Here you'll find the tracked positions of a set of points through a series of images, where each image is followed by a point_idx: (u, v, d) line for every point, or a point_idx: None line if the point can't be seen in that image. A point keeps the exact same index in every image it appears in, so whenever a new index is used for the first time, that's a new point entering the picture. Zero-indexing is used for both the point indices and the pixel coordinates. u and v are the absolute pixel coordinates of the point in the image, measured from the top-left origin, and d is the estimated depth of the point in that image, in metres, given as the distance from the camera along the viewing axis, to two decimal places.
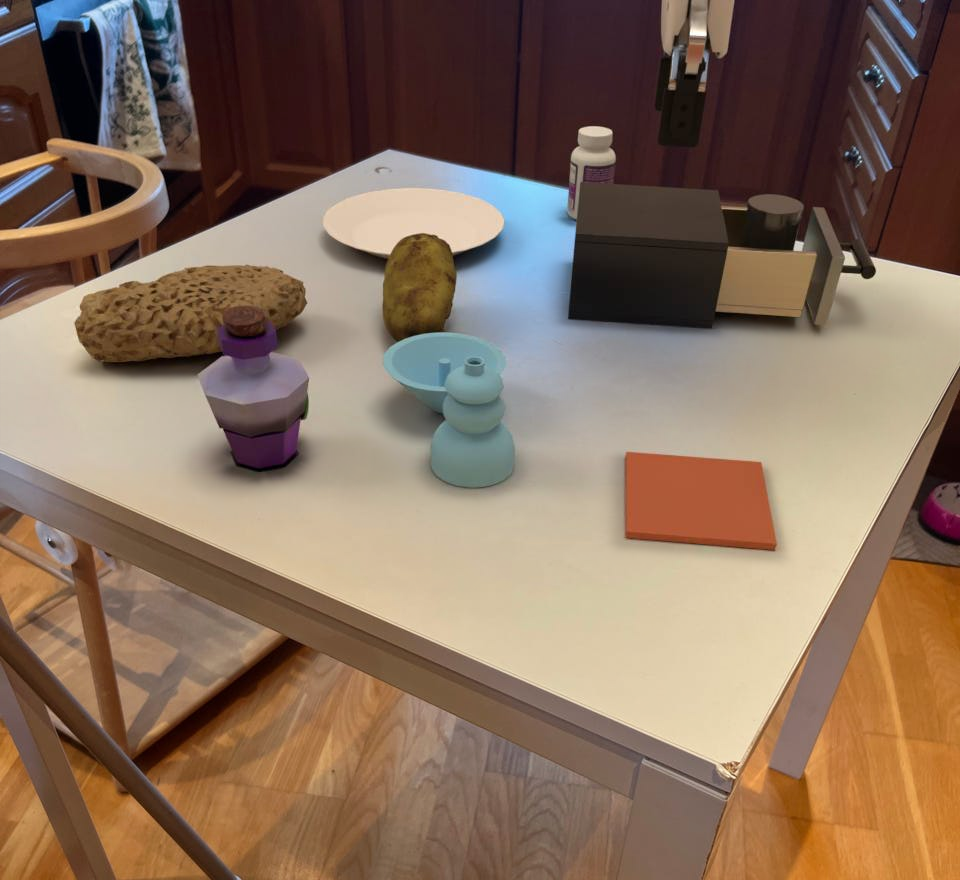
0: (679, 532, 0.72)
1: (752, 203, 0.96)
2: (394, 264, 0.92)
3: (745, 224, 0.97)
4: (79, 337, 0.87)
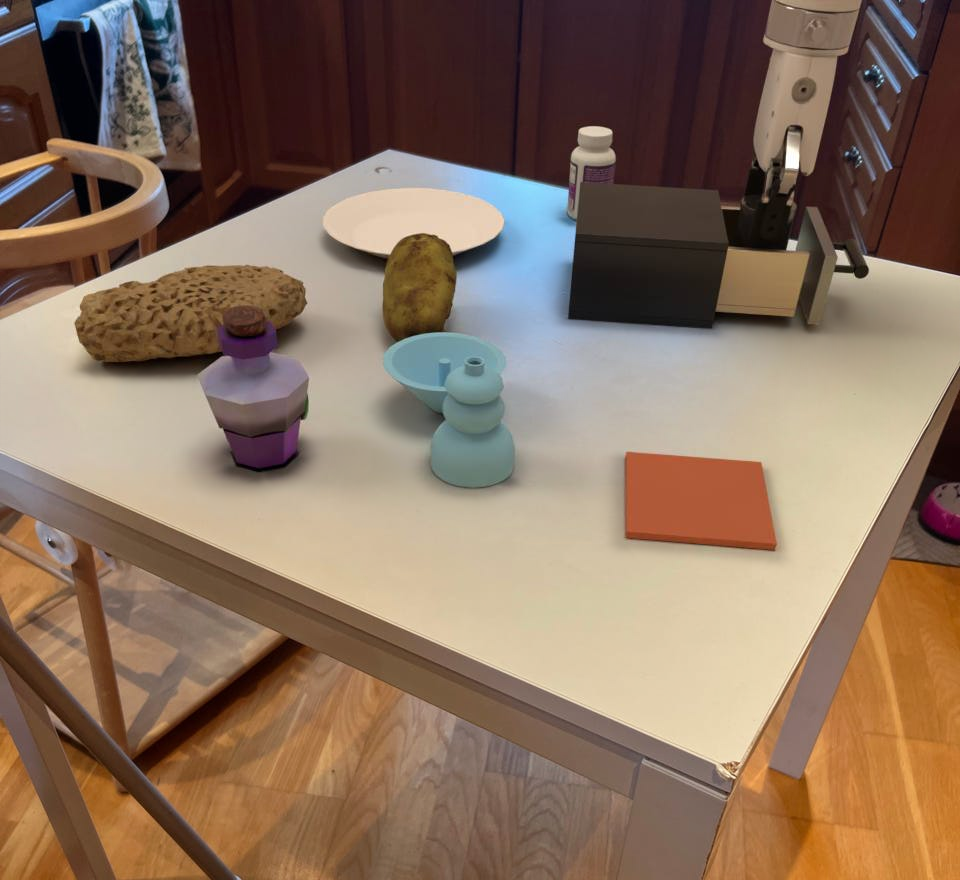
0: (679, 532, 0.72)
1: (745, 203, 0.96)
2: (394, 264, 0.92)
3: (738, 224, 0.97)
4: (79, 337, 0.87)
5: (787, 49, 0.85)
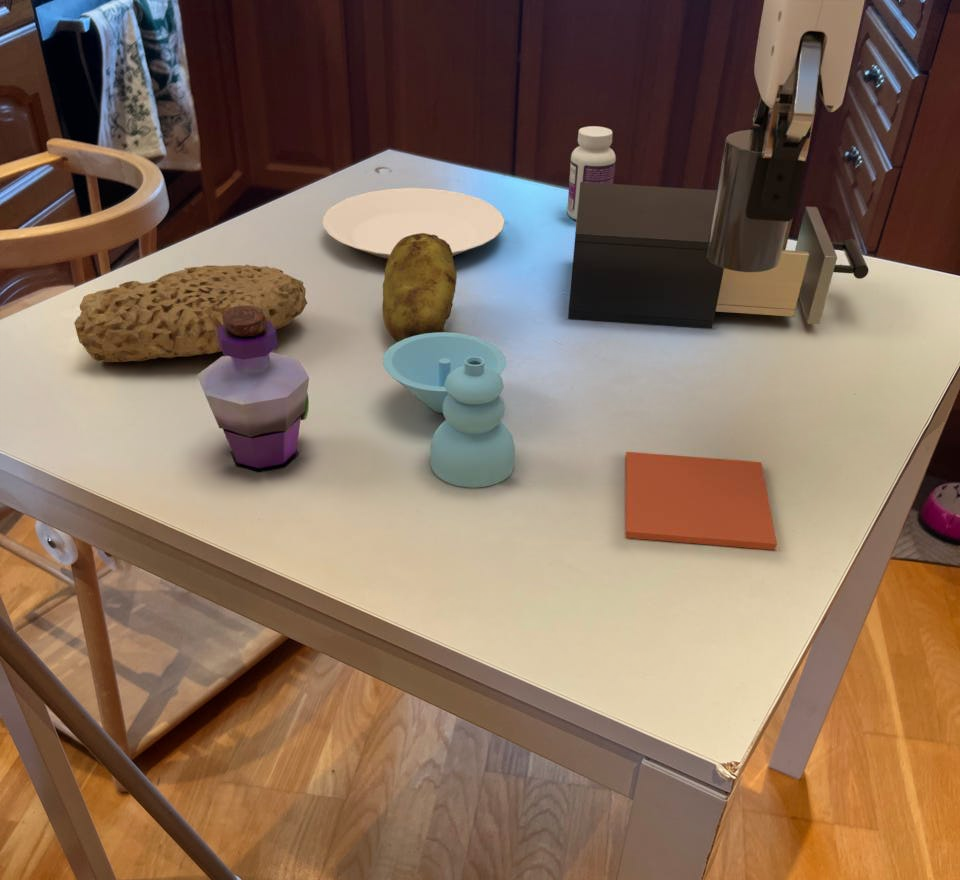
0: (679, 532, 0.72)
1: (731, 140, 0.66)
2: (394, 264, 0.92)
3: (722, 172, 0.67)
4: (79, 337, 0.87)
5: None
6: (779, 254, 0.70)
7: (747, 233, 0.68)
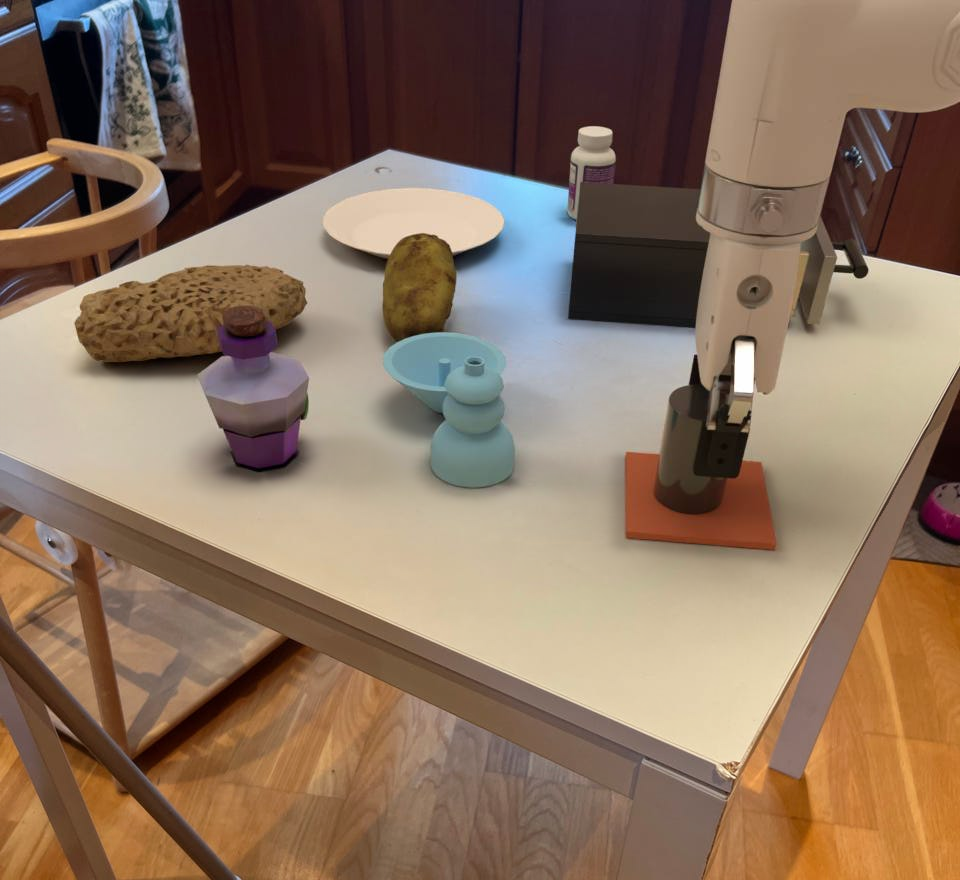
0: (679, 532, 0.72)
1: (674, 402, 0.70)
2: (394, 264, 0.92)
3: (665, 427, 0.71)
4: (79, 337, 0.87)
5: (727, 235, 0.59)
6: (722, 496, 0.74)
7: (690, 483, 0.72)
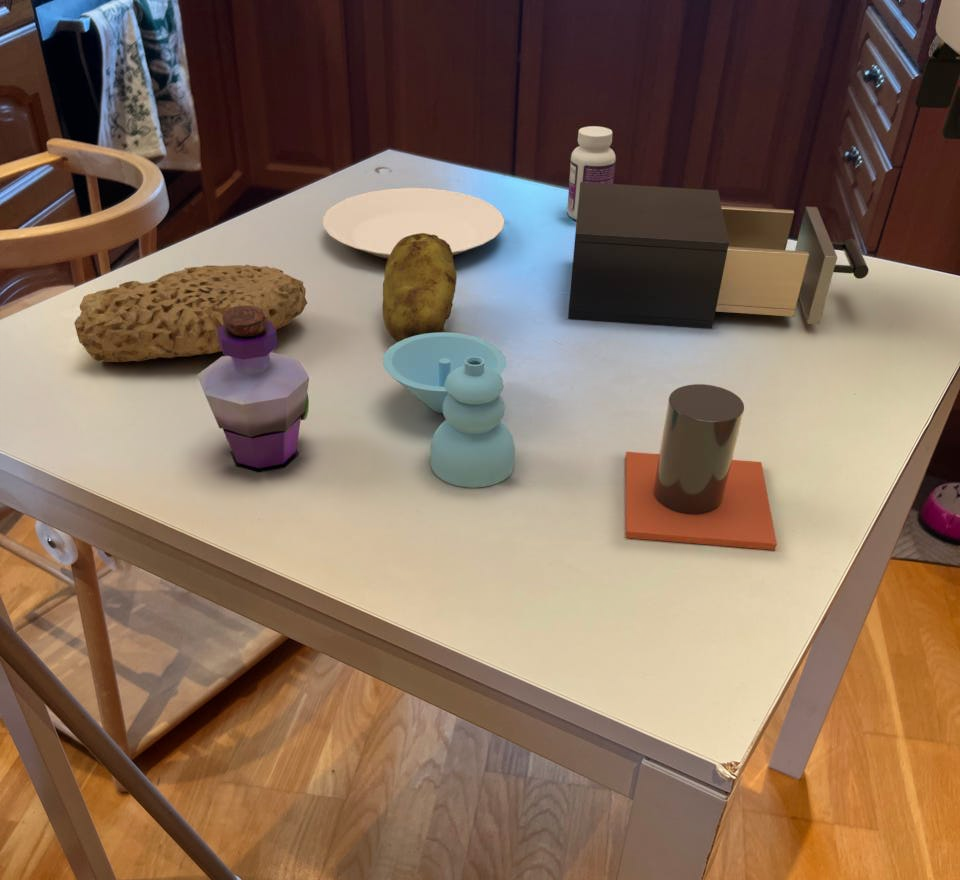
0: (679, 532, 0.72)
1: (674, 402, 0.70)
2: (394, 264, 0.92)
3: (665, 427, 0.71)
4: (79, 337, 0.87)
5: None
6: (722, 496, 0.74)
7: (690, 483, 0.72)
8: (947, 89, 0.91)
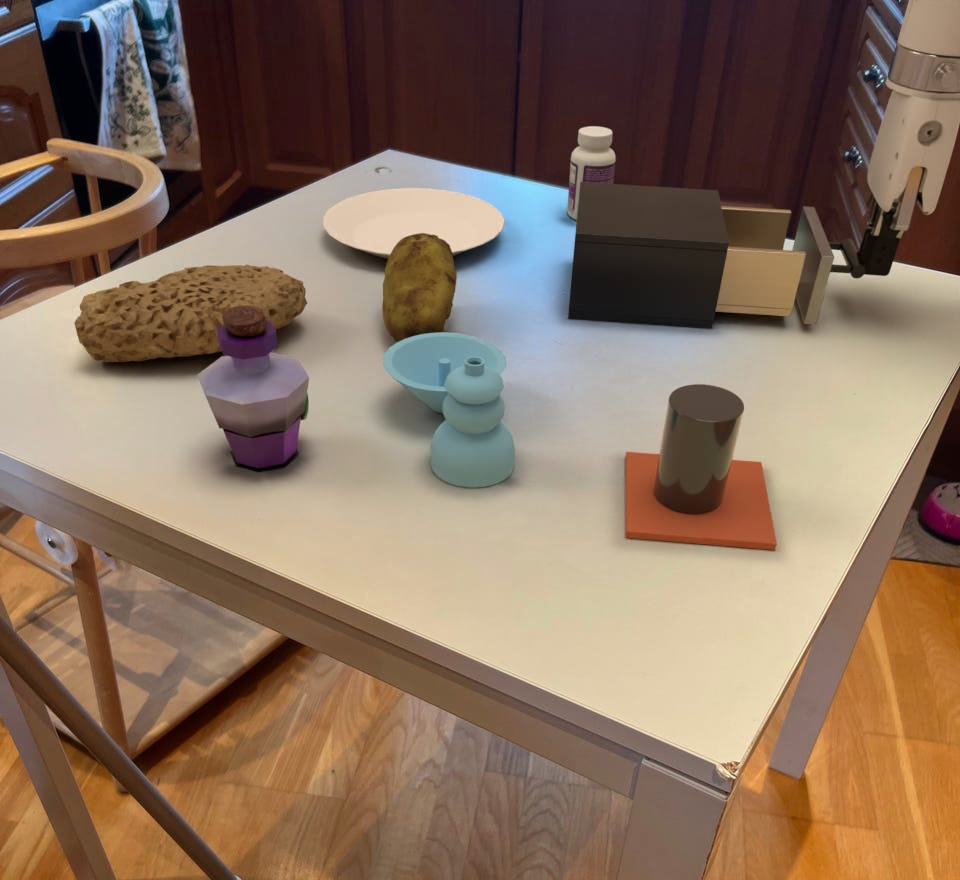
0: (679, 532, 0.72)
1: (674, 402, 0.70)
2: (394, 264, 0.92)
3: (665, 427, 0.71)
4: (79, 337, 0.87)
5: (913, 93, 0.86)
6: (722, 496, 0.74)
7: (690, 483, 0.72)
8: None
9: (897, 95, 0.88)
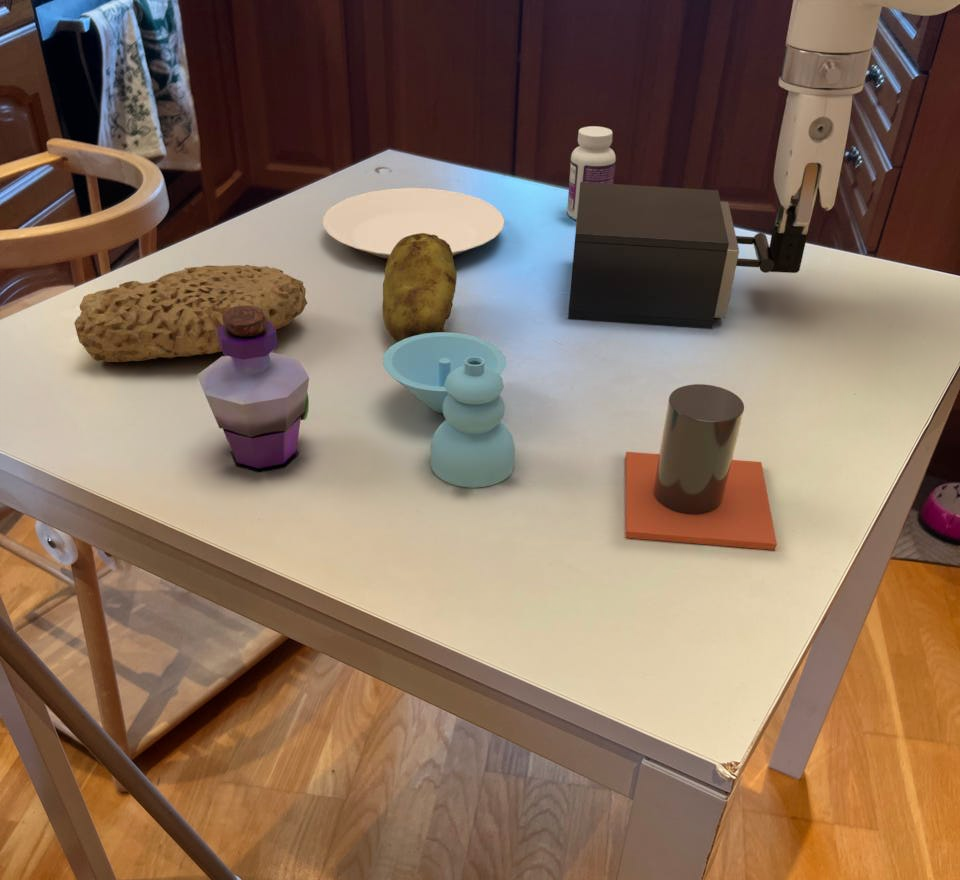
0: (679, 532, 0.72)
1: (674, 402, 0.70)
2: (394, 264, 0.92)
3: (665, 427, 0.71)
4: (79, 337, 0.87)
5: (802, 91, 0.86)
6: (722, 496, 0.74)
7: (690, 483, 0.72)
8: None
9: (790, 94, 0.89)
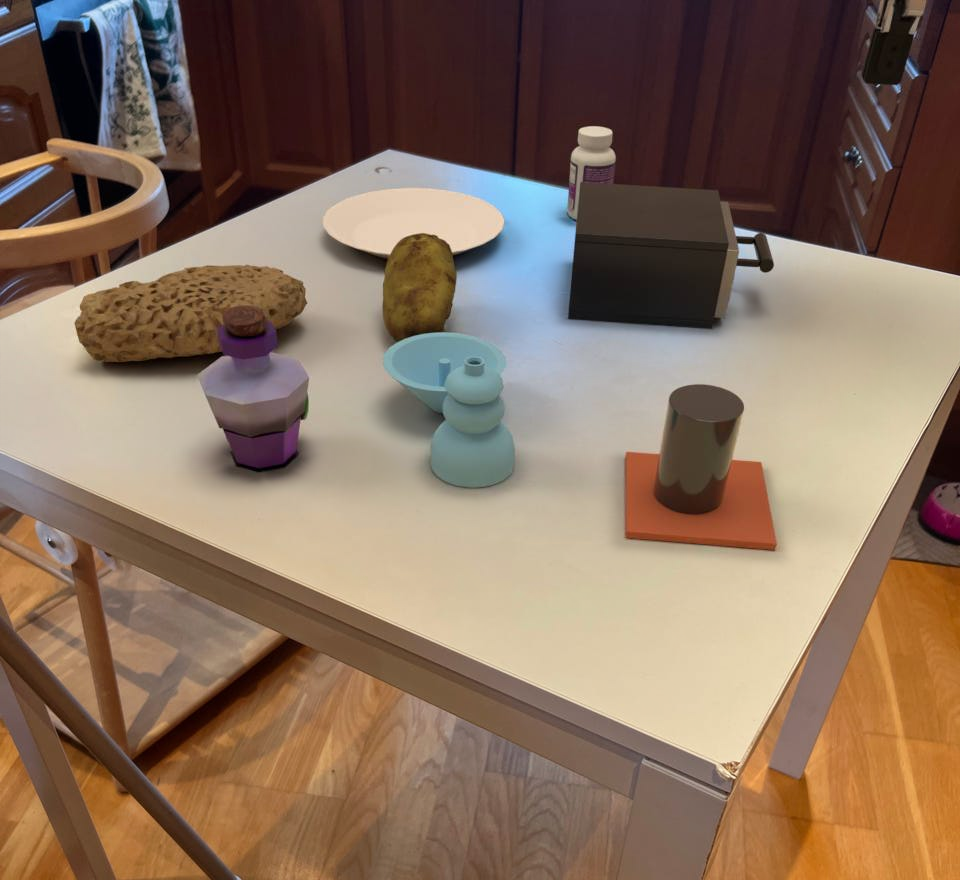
0: (679, 532, 0.72)
1: (674, 402, 0.70)
2: (394, 264, 0.92)
3: (665, 427, 0.71)
4: (79, 337, 0.87)
5: None
6: (722, 496, 0.74)
7: (690, 483, 0.72)
8: None
9: None
